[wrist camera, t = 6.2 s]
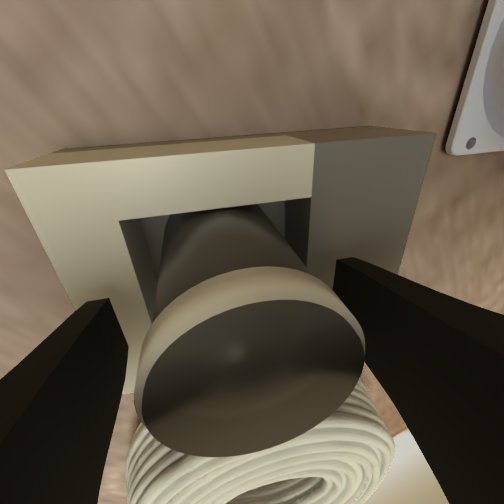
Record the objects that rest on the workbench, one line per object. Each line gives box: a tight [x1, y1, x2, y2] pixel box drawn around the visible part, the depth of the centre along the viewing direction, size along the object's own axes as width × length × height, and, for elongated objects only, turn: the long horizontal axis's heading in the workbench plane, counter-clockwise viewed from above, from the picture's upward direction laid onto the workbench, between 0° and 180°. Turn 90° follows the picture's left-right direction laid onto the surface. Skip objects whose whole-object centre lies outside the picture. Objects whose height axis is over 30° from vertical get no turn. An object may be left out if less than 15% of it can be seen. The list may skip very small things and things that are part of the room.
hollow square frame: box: [5, 126, 436, 395], centre depth 11 cm, size 12×9×4 cm
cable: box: [125, 378, 395, 504], centre depth 18 cm, size 18×18×6 cm
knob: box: [134, 204, 365, 457], centre depth 8 cm, size 5×5×7 cm
